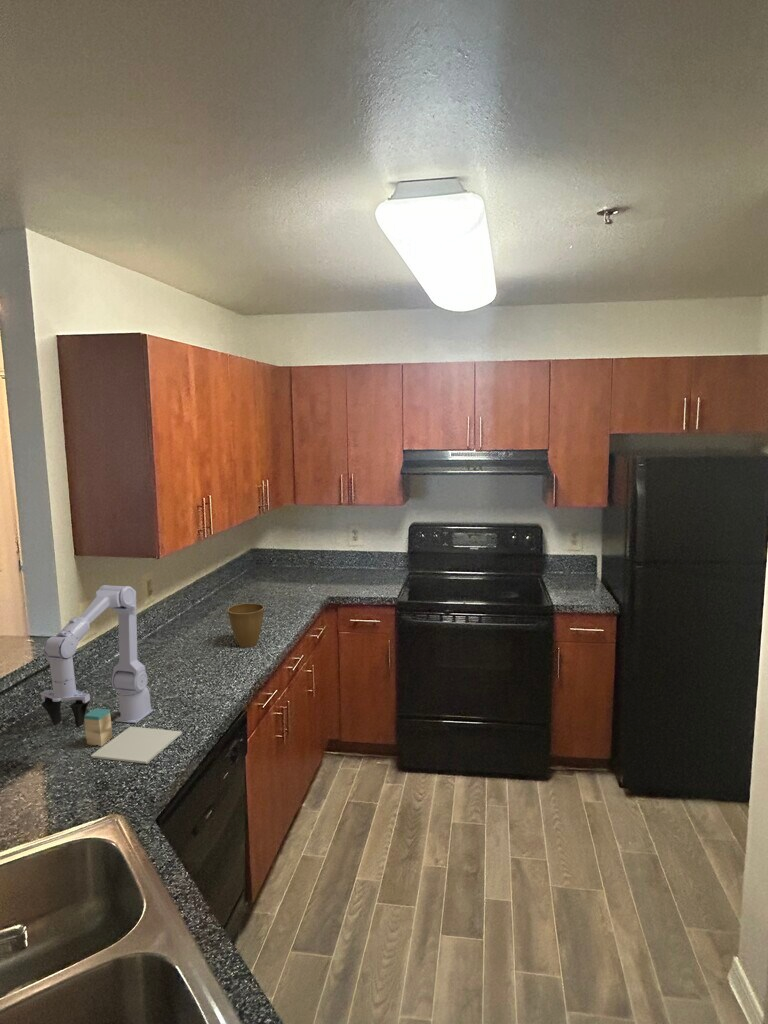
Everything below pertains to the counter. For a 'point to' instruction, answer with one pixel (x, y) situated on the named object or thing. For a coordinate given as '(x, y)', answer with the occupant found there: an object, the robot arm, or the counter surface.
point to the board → (137, 745)
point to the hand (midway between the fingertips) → (68, 724)
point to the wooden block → (98, 727)
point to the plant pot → (246, 623)
